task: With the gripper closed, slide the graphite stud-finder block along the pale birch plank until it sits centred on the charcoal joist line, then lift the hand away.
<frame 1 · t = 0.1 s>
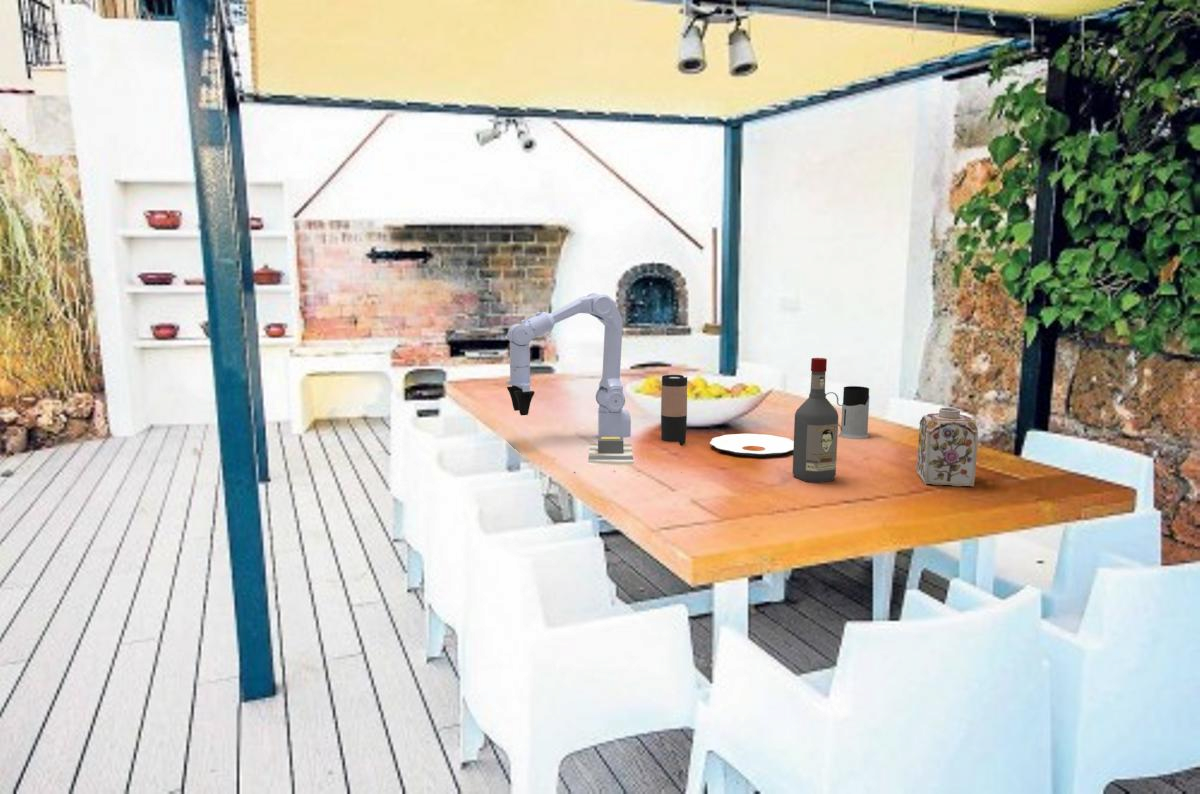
hand: (520, 412, 237), 10 cm above the table, fingers open, 7 cm apart
decorative jar: (944, 481, 203), on the table
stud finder: (610, 451, 228), point 1 cm above the table, touching subfloor plank
travel mug: (673, 443, 243), on the table
plate: (753, 449, 237), on the table
subfloor plank: (610, 458, 225), on the table
glass holder: (845, 436, 253), on the table
liquor: (813, 478, 205), on the table
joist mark: (610, 462, 221), resting in subfloor plank
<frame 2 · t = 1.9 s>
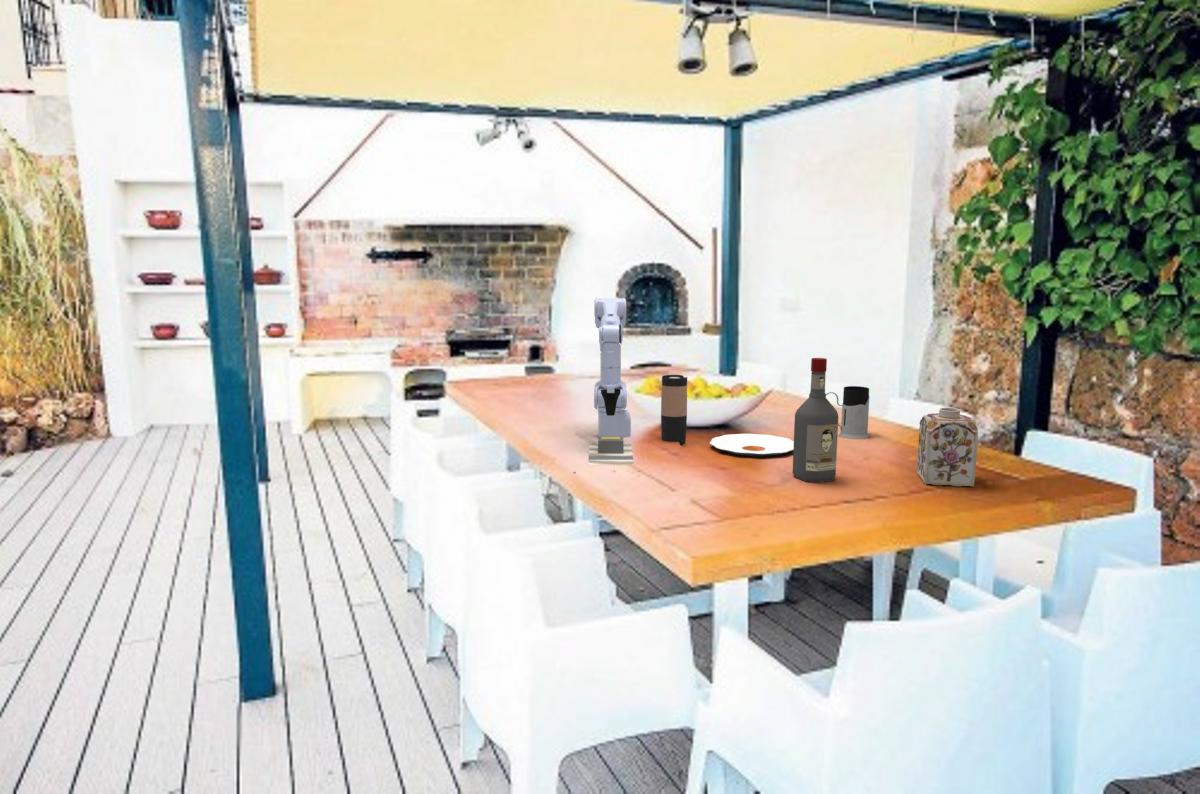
hand: (610, 414, 232), 10 cm above the table, fingers closed
nothing on the table moved.
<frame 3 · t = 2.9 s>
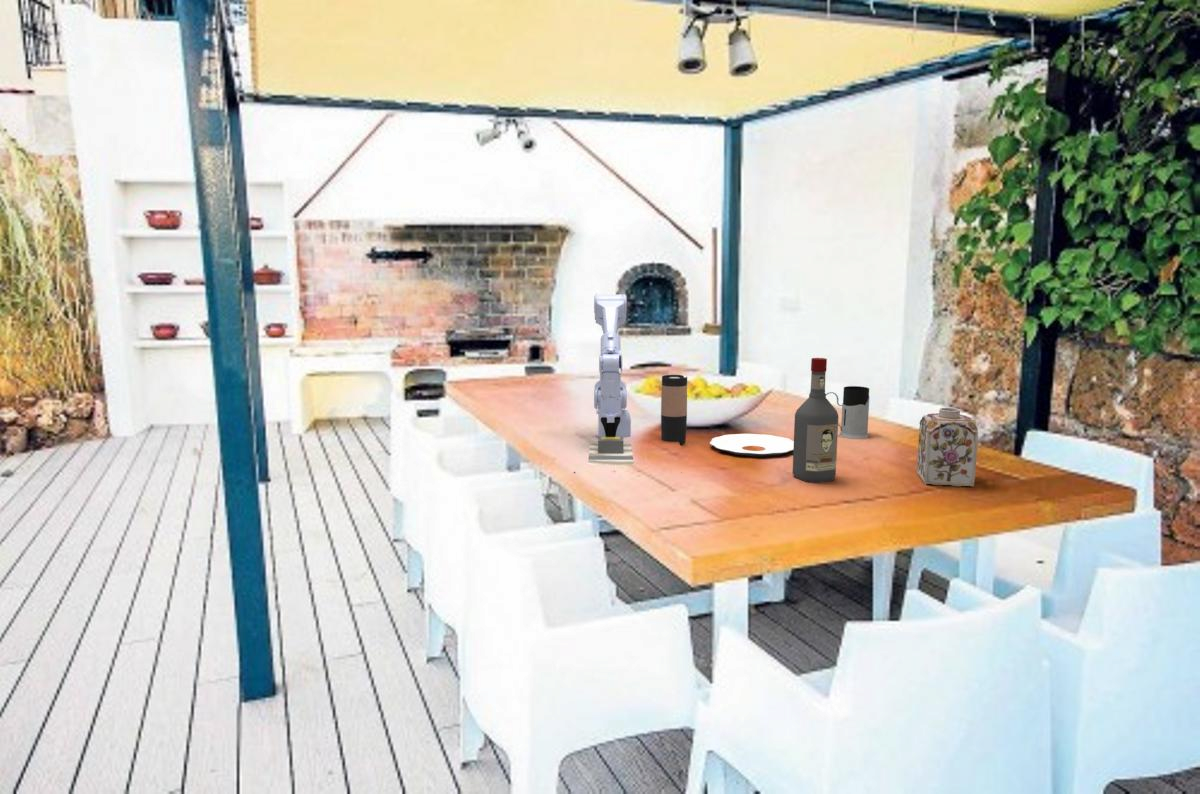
hand: (610, 442, 234), 2 cm above the table, fingers closed
nothing on the table moved.
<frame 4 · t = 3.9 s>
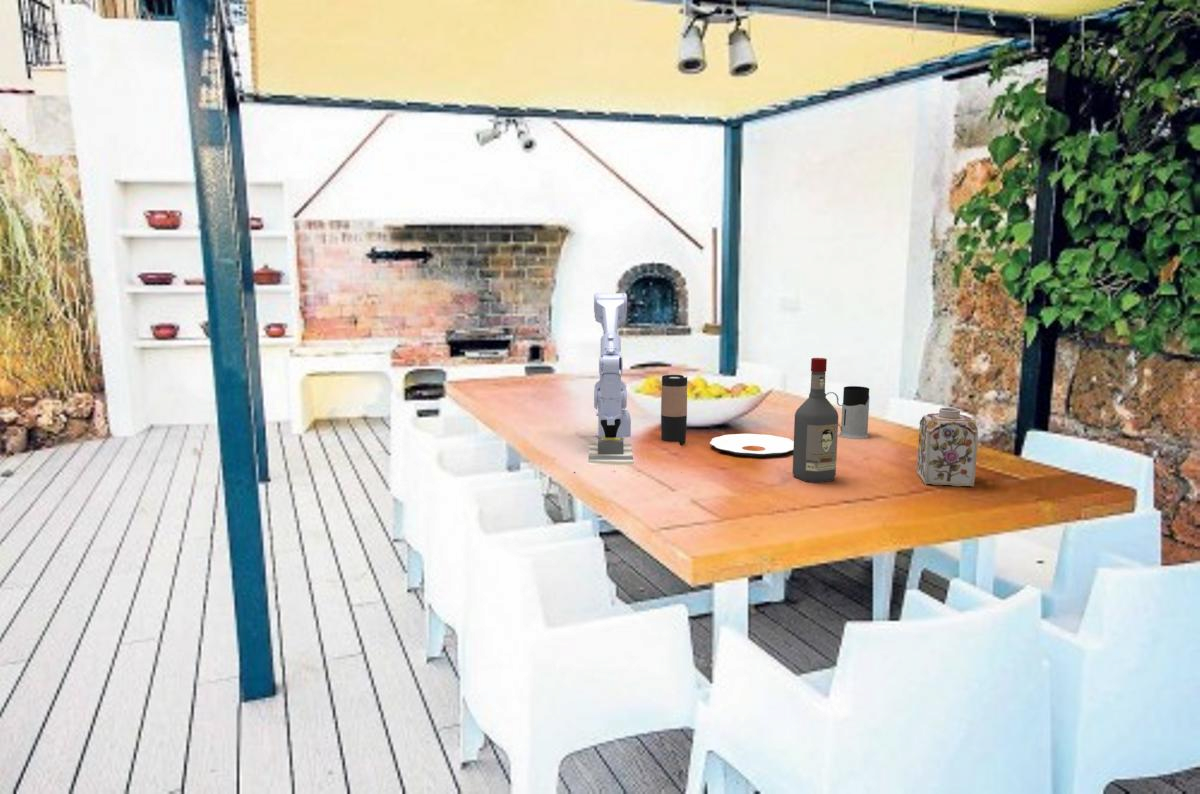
hand: (610, 445, 231), 2 cm above the table, fingers closed
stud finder: (610, 452, 227), point 1 cm above the table, touching gripper
everything else where it was.
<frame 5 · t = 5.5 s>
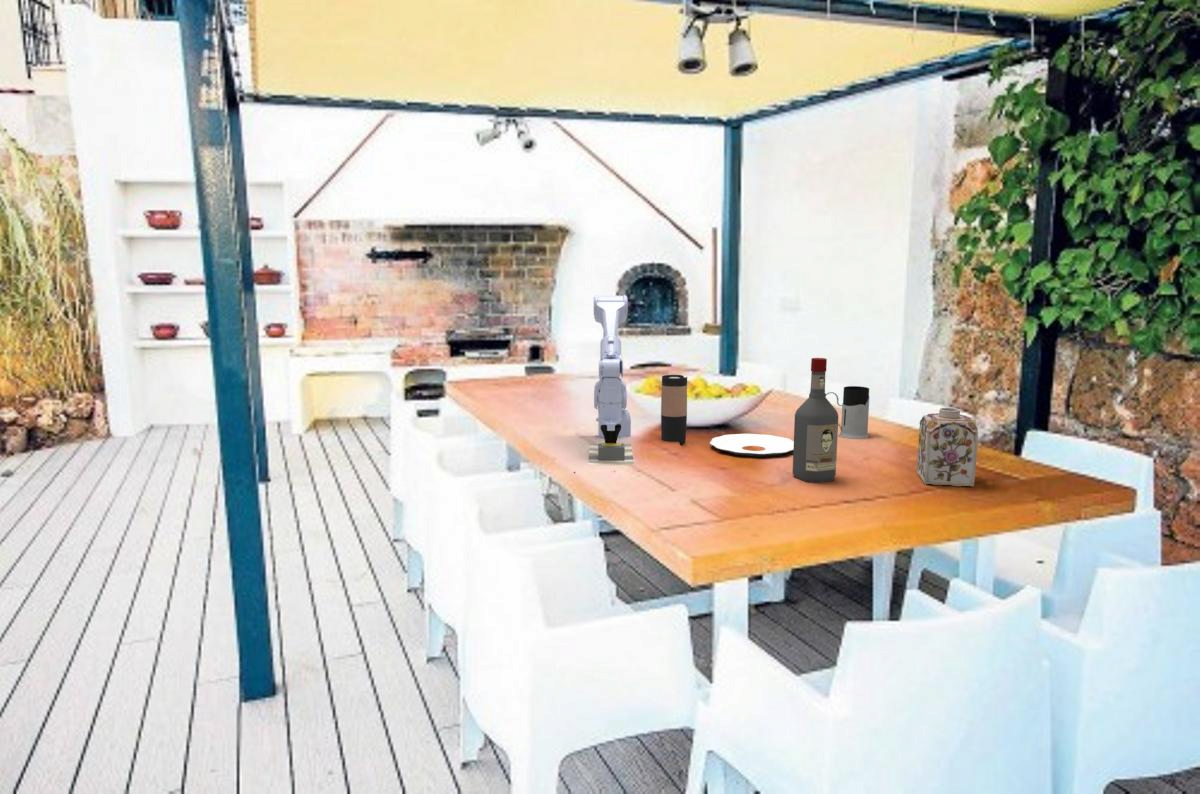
hand: (610, 451, 224), 2 cm above the table, fingers closed
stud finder: (611, 458, 220), point 1 cm above the table, touching gripper, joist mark, subfloor plank
everything else where it was.
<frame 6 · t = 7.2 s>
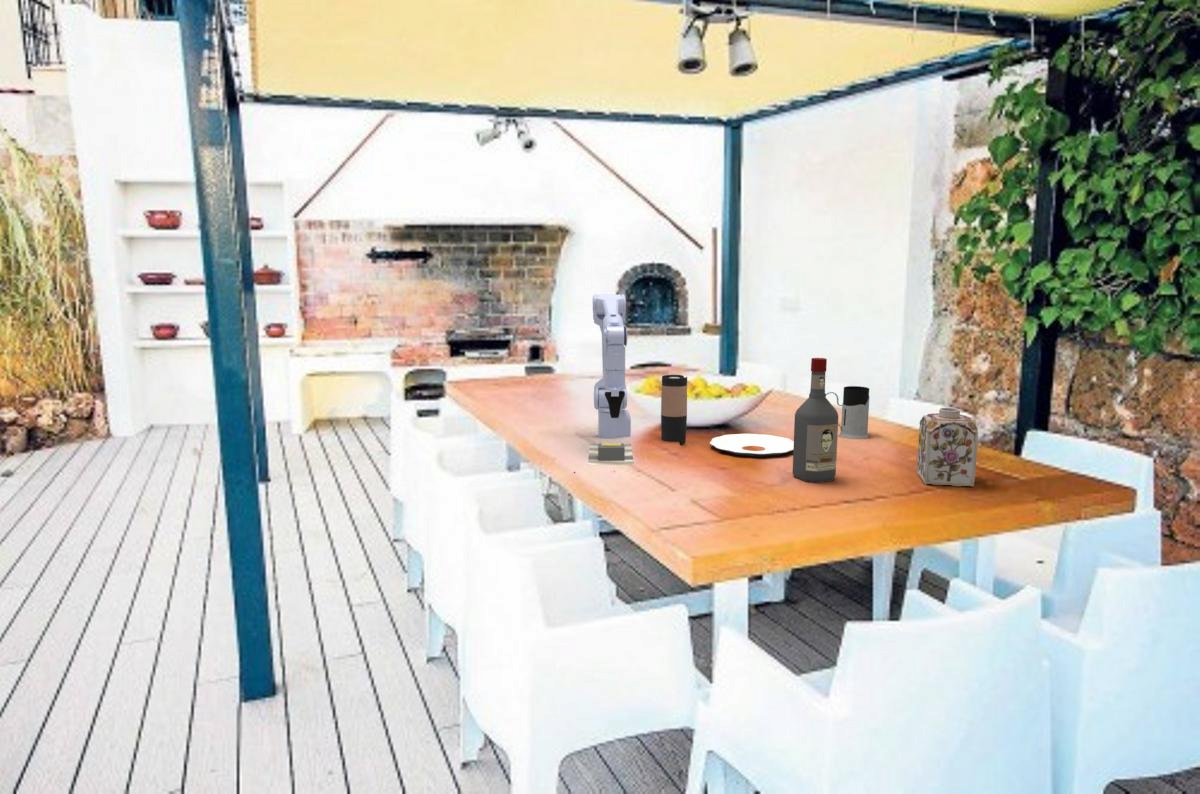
hand: (614, 417, 229), 10 cm above the table, fingers closed
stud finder: (611, 458, 220), point 1 cm above the table, touching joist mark, subfloor plank
everything else where it was.
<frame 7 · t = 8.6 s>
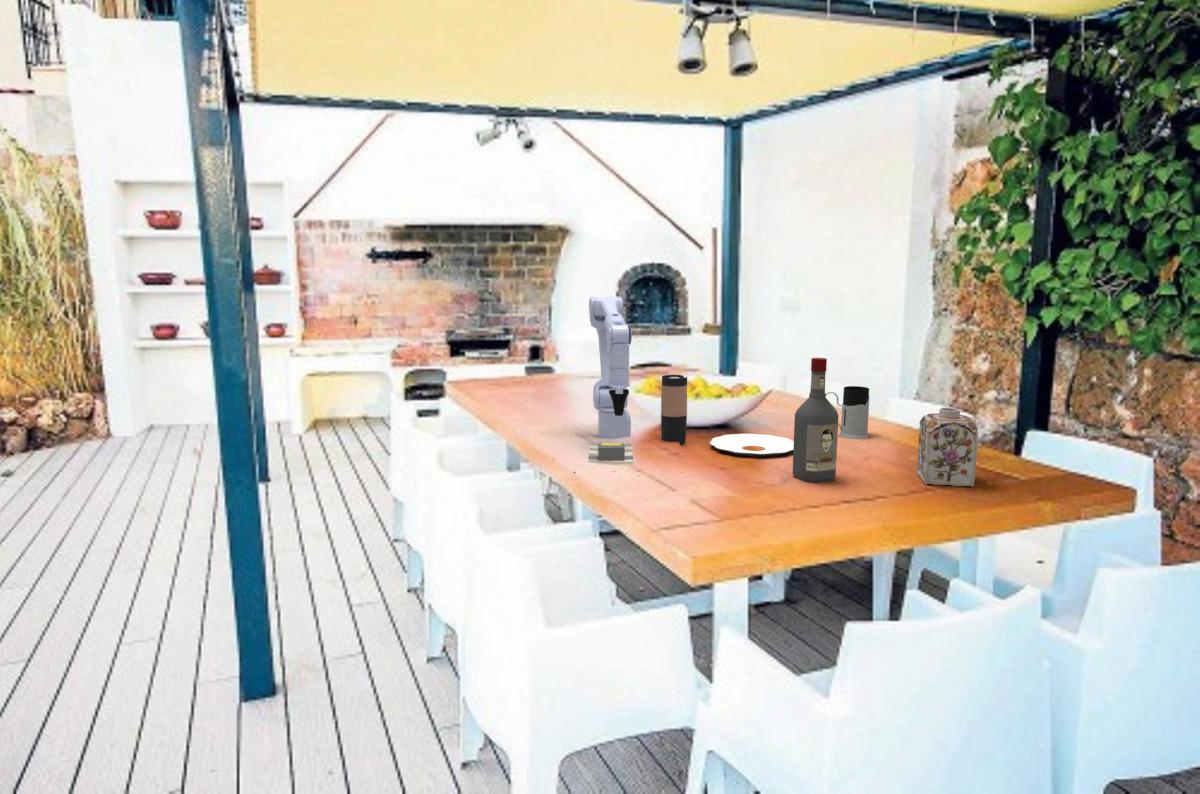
hand: (618, 415, 231), 10 cm above the table, fingers closed
nothing on the table moved.
at the end: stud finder 0.5 cm from the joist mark (horizontally); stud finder tilted 0° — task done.
